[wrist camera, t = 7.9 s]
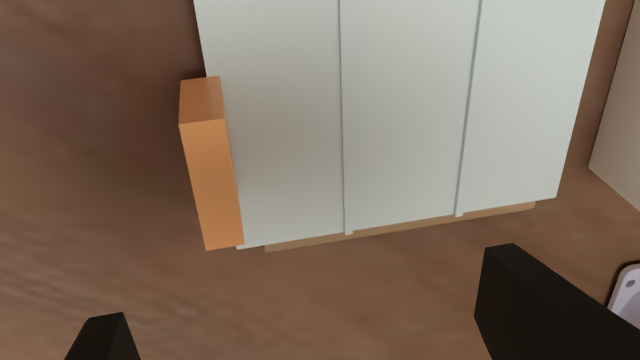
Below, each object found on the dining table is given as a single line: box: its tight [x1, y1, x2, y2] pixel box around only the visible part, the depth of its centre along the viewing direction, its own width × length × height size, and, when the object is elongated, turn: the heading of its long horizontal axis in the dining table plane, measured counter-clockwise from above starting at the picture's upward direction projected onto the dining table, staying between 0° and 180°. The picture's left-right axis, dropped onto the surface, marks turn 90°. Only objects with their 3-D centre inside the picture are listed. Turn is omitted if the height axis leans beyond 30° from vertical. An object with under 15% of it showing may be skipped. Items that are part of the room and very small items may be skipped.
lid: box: [178, 0, 605, 251], centre depth 18 cm, size 14×10×4 cm
